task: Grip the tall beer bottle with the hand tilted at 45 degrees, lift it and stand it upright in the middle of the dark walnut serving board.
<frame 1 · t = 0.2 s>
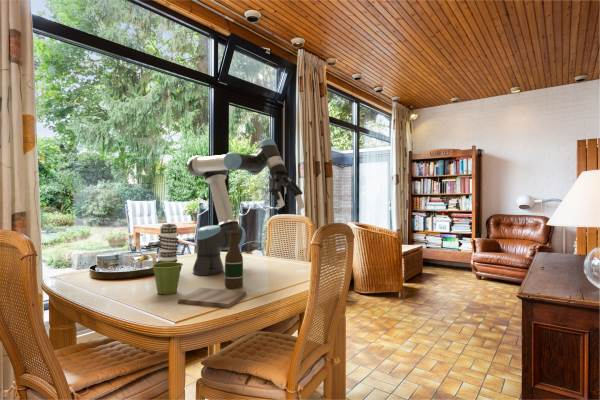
hand: (292, 207, 151), 34 cm above the table, tool tilted 30°, fingers open, 13 cm apart
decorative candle: (168, 274, 169), on the table
walnut board: (213, 299, 129), on the table
plant pot: (167, 292, 137), on the table
beer bottle: (233, 287, 146), on the table
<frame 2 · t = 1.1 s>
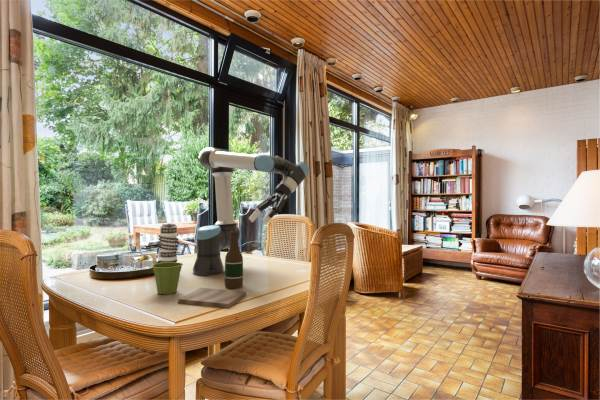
hand: (256, 221, 152), 28 cm above the table, tool tilted 45°, fingers open, 13 cm apart
nothing on the table moved.
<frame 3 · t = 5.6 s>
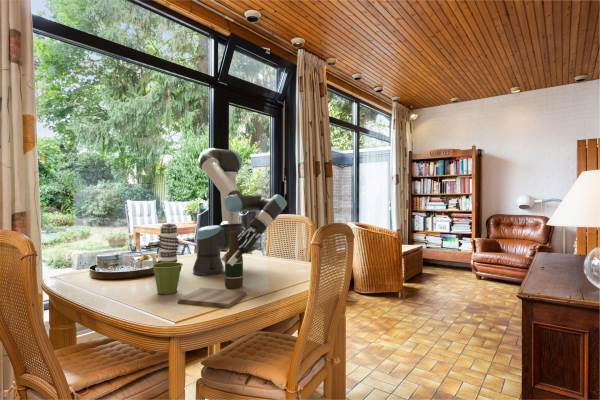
hand: (226, 262, 144), 11 cm above the table, tool tilted 45°, fingers closed on beer bottle, 7 cm apart
beer bottle: (233, 287, 146), on the table, touching gripper
everything else where it was.
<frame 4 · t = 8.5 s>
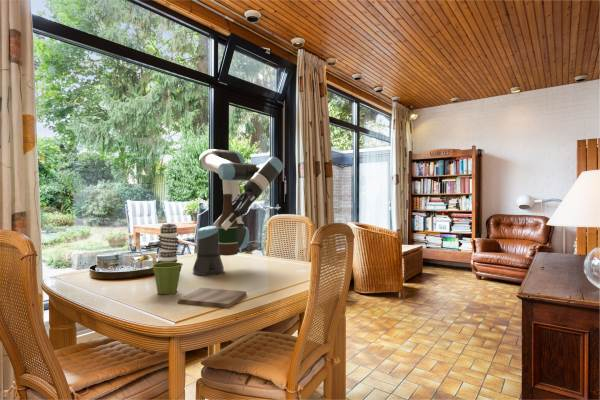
hand: (219, 227, 134), 27 cm above the table, tool tilted 45°, fingers closed on beer bottle, 7 cm apart
beer bottle: (228, 254, 136), point 16 cm above the table, touching gripper
everything else where it was.
when the fingers open (14 cm above the table, at t = 11.8 s): beer bottle drops 1 cm, resting on walnut board.
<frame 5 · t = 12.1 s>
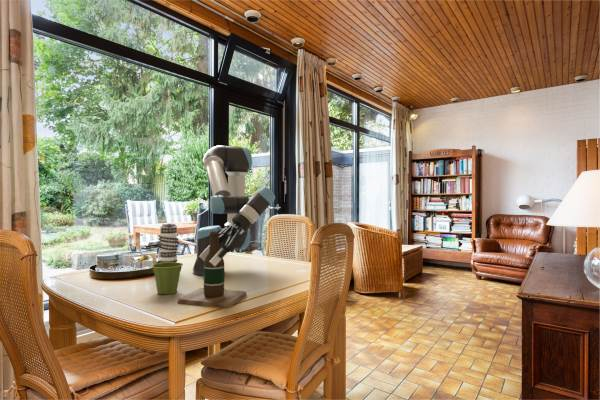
hand: (206, 261, 127), 15 cm above the table, tool tilted 45°, fingers open, 11 cm apart
beer bottle: (213, 295, 129), point 1 cm above the table, touching walnut board
everything else where it was.
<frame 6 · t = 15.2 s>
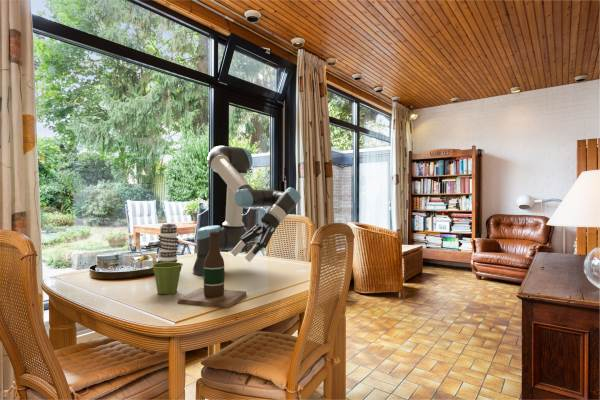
hand: (239, 256, 135), 15 cm above the table, tool tilted 45°, fingers open, 13 cm apart
nothing on the table moved.
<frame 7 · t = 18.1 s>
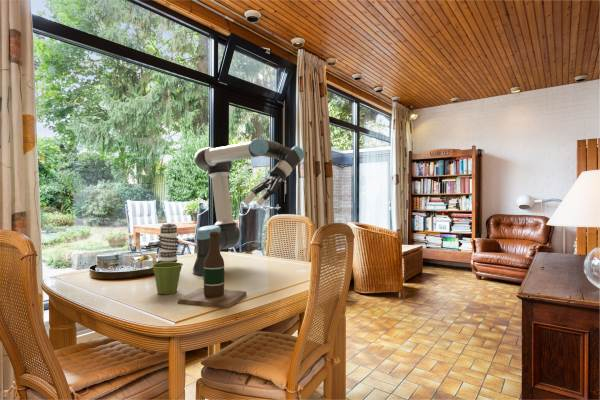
hand: (251, 203, 153), 36 cm above the table, tool tilted 45°, fingers open, 13 cm apart
nothing on the table moved.
at the end: beer bottle inside the target area on the walnut board (0.1 cm from its centre), point 1.3 cm above the walnut board's base; beer bottle tilted 0°; the gripper is holding nothing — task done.
